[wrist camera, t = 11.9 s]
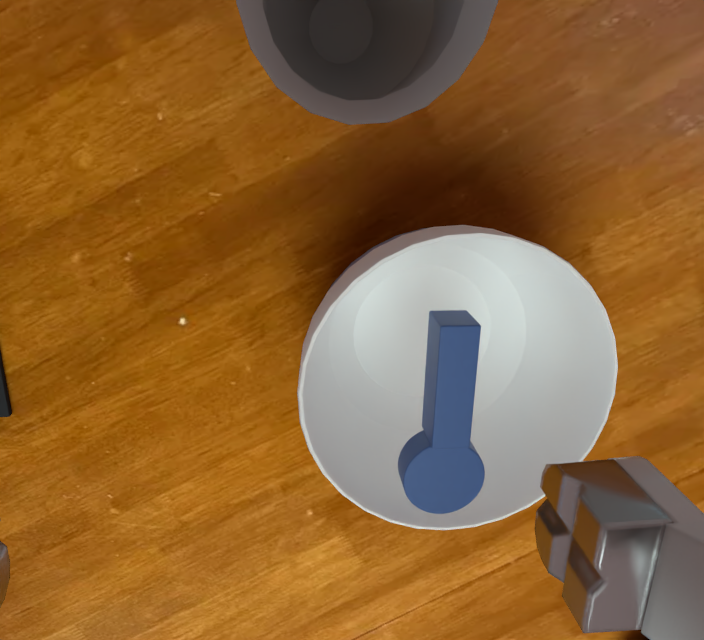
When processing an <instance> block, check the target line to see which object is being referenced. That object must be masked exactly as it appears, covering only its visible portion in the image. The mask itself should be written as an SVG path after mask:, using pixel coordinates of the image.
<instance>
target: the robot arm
mask: <svg viewBox="0 0 704 640" xmlns="http://www.w3.org/2000/svg"><path fill="white" fill-rule="evenodd" d="M540 488H541V489H542V491H543V492H544V494H545V495H546V497H547V499H546V500H545V502H544V503H543V504H542V505H541V506H540V507H539V508H538V509H537V511H536V520H535V535H536V543H537V548H538V551H539V554H540V557H541V560H542V562H543V564H544V565H545V567H546V569H547V571H548V573H550V574H551V575H553V576H554V577H556V578H557V579H559V580H560V581H562V582H563V583H564V586H563V592H562V597H563V599H564V601H565V602H566V604H567V606H568V607H569V609H570V611H571V613H572V614H573V616H574V618H575V620H576V621H577V623H578V625H579V626H580V628H581V630H582V632H583V633H594V632H610V631H627V630H641V633H642V634H643V635H645V636H646V637H647V638H648V639H650V640H704V514H703V513H702V512H701V511H700V510H699V509H698V508H697V507H696V506H695V505H694V504H693V503H692V502H691V501H690V500H689V499H688V498H687V497H686V496H685V495H684V494H683V493H682V492H681V491H679V490H678V489H677V488H676V487H675V486H674V485H673V484H672V483H671V482H670V481H669V480H668V479H667V478H666V477H665V476H664V475H663V474H662V473H661V472H660V471H659V470H658V469H657V468H656V467H654V466H653V465H652V464H651V463H650V462H649V461H648V460H647V459H645V458H642V457H640V456H633V457H622V458H611V459H607V460H595V461H581V462H567V463H553V464H546V466H545V468H544V470H543V472H542V476H541V483H540ZM0 521H1V520H0ZM9 579H10V559H9V555H8V550H7V546H6V545H5V544H3V543H2V542H1V541H0V607H1V605H2V603H3V601H4V599H5V596H6V592H7V588H8V583H9Z"/></svg>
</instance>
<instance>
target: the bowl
mask: <svg viewBox="0 0 704 640" xmlns="http://www.w3.org/2000/svg"><path fill="white" fill-rule="evenodd" d="M443 310H466V311H468V312H469V313H470V314H471V315H472V317H473V318H474V319H475V320H476V321H477V322H478V323H479V324H480V325H481V332H480V343H479V353H478V364H477V375H476V385H475V396H474V406H473V417H472V427H471V438H470V441H471V442H472V444H473V446H474V447H475V449H476V451H477V453H478V454H479V456H480V458H481V460H482V462H483V465H484V470H485V477H484V482H483V486H482V488H481V490H480V492H479V493H478V495H477V496H476V497H475V499H474V500H472V501H471V502H470V503H469V504H468V505H466V506H465V507H463V508H461V509H459V510H457V511H454V512H451V513H445V514H434V513H429V512H425V511H423V510H421V509H419V508H417V507H416V506H415V505H413V504H412V503H411V502H410V500H409V499H408V498H407V496H406V494H405V491H404V488H403V485H402V482H401V479H400V475H399V472H398V458H399V455H400V452H401V450H402V448H403V447H404V445H405V444H406V443H407V441H408V440H409V439H410V438H411V437H413V436H414V435H415V434H417V433H419V432H420V431H423V428H422V415H423V399H424V384H425V368H426V353H427V337H428V322H429V312H430V311H443ZM617 369H618V363H617V353H616V343H615V336H614V333H613V330H612V327H611V324H610V321H609V318H608V315H607V312H606V309H605V308H604V306H603V304H602V303H601V301H600V299H599V298H598V296H597V294H596V293H595V291H594V290H593V288H592V286H591V285H590V283H589V282H588V281H587V280H586V279H585V278H584V277H583V276H582V275H581V274H580V273H579V272H578V271H577V270H576V269H575V268H574V267H573V266H572V265H571V264H570V263H569V262H567V261H566V260H564V259H563V258H561V257H559V256H558V255H556V254H555V253H553V252H552V251H550V250H548V249H547V248H545V247H544V246H541V245H539V244H536V243H533V242H530V241H527V240H525V239H522V238H519V237H516V236H514V235H511V234H508V233H504V232H501V231H498V230H495V229H491V228H483V227H476V226H469V225H454V226H439V227H431V228H422V229H419V230H415V231H411V232H407V233H404V234H400V235H397V236H394V237H392V238H390V239H388V240H386V241H384V242H382V243H380V244H378V245H376V246H374V247H372V248H371V249H369V250H368V251H367V252H365V253H364V254H363V255H361V256H360V257H359V258H357V259H356V260H355V261H353V262H352V263H351V264H350V265H349V266H348V267H347V268H346V269H345V270H344V271H343V273H342V274H341V275H340V276H339V277H338V278H337V279H336V280H335V281H334V283H333V284H332V285H331V287H330V289H329V290H328V292H327V294H326V295H325V297H324V299H323V300H322V302H321V304H320V305H319V307H318V309H317V310H316V312H315V314H314V315H313V317H312V320H311V323H310V326H309V329H308V331H307V334H306V337H305V340H304V343H303V349H302V356H301V364H300V372H299V382H298V392H297V394H298V406H299V417H300V424H301V427H302V430H303V433H304V437H305V440H306V443H307V446H308V449H309V451H310V453H311V454H312V456H313V458H314V460H315V461H316V463H317V465H318V466H319V468H320V470H321V472H322V473H323V474H324V475H325V477H326V478H327V479H328V480H329V481H330V482H331V483H332V484H333V485H334V486H335V487H336V488H337V490H338V491H339V492H340V493H341V494H342V495H343V496H345V497H346V498H348V499H349V500H350V501H352V502H353V503H355V504H356V505H357V506H359V507H360V508H362V509H363V510H364V511H366V512H369V513H371V514H373V515H375V516H378V517H380V518H382V519H384V520H387V521H389V522H392V523H396V524H400V525H404V526H409V527H413V528H417V529H434V530H452V529H461V528H470V527H476V526H480V525H483V524H487V523H490V522H494V521H497V520H501V519H504V518H506V517H508V516H510V515H512V514H515V513H517V512H519V511H521V510H523V509H525V508H528V507H529V506H531V505H532V504H534V503H535V502H537V501H538V500H540V499H541V498H543V497H544V496H546V495H545V494H544V492H543V491H542V489H541V488H540V483H541V476H542V472H543V470H544V468H545V466H546V464H553V463H567V462H581V461H583V459H584V458H585V457H586V456H587V454H588V453H589V452H590V450H591V449H592V448H593V446H594V444H595V442H596V440H597V438H598V436H599V435H600V433H601V431H602V429H603V427H604V425H605V423H606V421H607V418H608V414H609V411H610V408H611V405H612V402H613V398H614V395H615V387H616V378H617Z"/></svg>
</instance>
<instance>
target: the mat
mask: <svg viewBox="0 0 704 640" xmlns="http://www.w3.org/2000/svg"><path fill="white" fill-rule="evenodd" d="M11 414H12V412H11V406H10V401H9V396H8V390H7V385H6V380H5V374H4V369H3V364H2V358H1V353H0V417H9V416H10V415H11Z"/></svg>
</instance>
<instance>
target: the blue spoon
mask: <svg viewBox="0 0 704 640" xmlns="http://www.w3.org/2000/svg"><path fill="white" fill-rule="evenodd" d="M480 332H481V325H480V324H479V323H478V322H477V321H476V320H475V319H474V318H473V317H472V315H471V314H470V313H469V312H468V311H466V310H443V311H430V312H429V322H428V337H427V353H426V368H425V384H424V399H423V415H422V428H423V431H420V432H419V433H417V434H415V435H414V436H413V437H411V438H410V439H409V440H408V441H407V443H406V444H405V445H404V447H403V448H402V450H401V452H400V455H399V458H398V472H399V475H400V479H401V482H402V485H403V488H404V491H405V494H406V496H407V498H408V499H409V500H410V502H411V503H412V504H413V505H415V506H416V507H417V508H419V509H421V510H423V511H425V512H429V513H434V514H445V513H451V512H454V511H457V510H459V509H461V508H463V507H465V506H466V505H468V504H469V503H470V502H471V501H472V500H474V499H475V497H476V496H477V495H478V493H479V492H480V490H481V488H482V486H483V482H484V477H485V470H484V465H483V462H482V460H481V458H480V456H479V454H478V453H477V451H476V449H475V447H474V446H473V444H472V442H471V441H470V438H471V427H472V417H473V406H474V396H475V385H476V375H477V364H478V353H479V343H480Z"/></svg>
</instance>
